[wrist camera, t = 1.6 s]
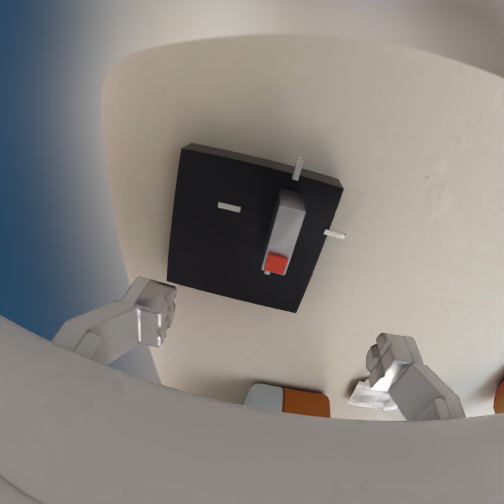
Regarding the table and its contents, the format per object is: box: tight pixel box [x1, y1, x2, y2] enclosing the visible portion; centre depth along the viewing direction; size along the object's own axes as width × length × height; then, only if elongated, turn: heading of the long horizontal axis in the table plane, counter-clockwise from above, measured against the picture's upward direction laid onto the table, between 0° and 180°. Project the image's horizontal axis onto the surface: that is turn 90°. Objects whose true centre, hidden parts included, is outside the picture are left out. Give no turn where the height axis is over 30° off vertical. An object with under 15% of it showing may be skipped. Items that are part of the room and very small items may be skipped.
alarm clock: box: [243, 383, 330, 418], centre depth 25 cm, size 18×9×21 cm, turn 167°
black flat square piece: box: [167, 143, 346, 313], centre depth 20 cm, size 11×11×2 cm
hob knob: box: [261, 188, 306, 275], centre depth 17 cm, size 4×1×3 cm, turn 167°
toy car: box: [347, 378, 399, 411], centre depth 28 cm, size 5×8×2 cm, turn 87°
